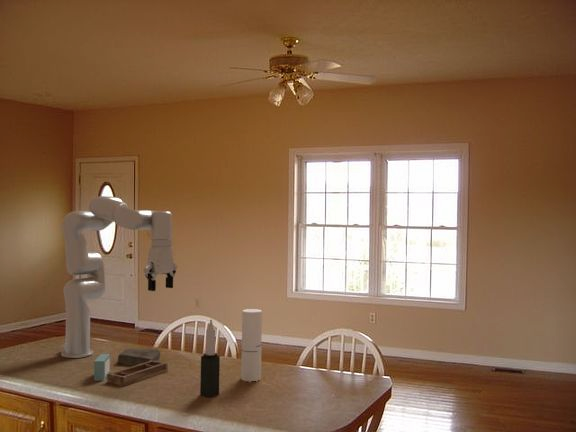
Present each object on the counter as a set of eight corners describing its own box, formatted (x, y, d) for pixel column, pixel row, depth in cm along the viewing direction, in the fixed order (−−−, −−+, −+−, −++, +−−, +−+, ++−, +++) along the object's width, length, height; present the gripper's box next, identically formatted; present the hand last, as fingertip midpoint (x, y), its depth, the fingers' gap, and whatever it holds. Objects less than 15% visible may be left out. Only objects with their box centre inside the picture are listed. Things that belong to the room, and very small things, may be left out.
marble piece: (151, 368, 219) (151, 357, 219) (113, 367, 219) (113, 356, 219) (162, 357, 235) (162, 347, 235) (127, 356, 236) (128, 346, 236)
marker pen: (210, 398, 185) (212, 321, 185) (198, 395, 188) (200, 319, 187) (220, 393, 189) (221, 319, 189) (208, 391, 192) (210, 317, 192)
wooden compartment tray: (107, 382, 199) (107, 373, 199) (150, 367, 218) (151, 360, 218) (124, 386, 195) (124, 377, 195) (167, 371, 214) (167, 363, 214)
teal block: (93, 380, 201) (94, 361, 201) (100, 372, 211) (100, 354, 211) (104, 380, 201) (104, 361, 201) (110, 372, 211) (110, 354, 211)
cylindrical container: (264, 379, 207) (266, 310, 207) (250, 383, 202) (251, 313, 201) (251, 375, 212) (252, 308, 211) (237, 378, 206) (238, 310, 206)
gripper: (169, 242, 223) (168, 286, 223) (137, 244, 207) (136, 291, 208) (184, 243, 219) (183, 287, 219) (153, 245, 204) (152, 292, 204)
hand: (160, 289), depth 213 cm, fingers open, 9 cm apart
